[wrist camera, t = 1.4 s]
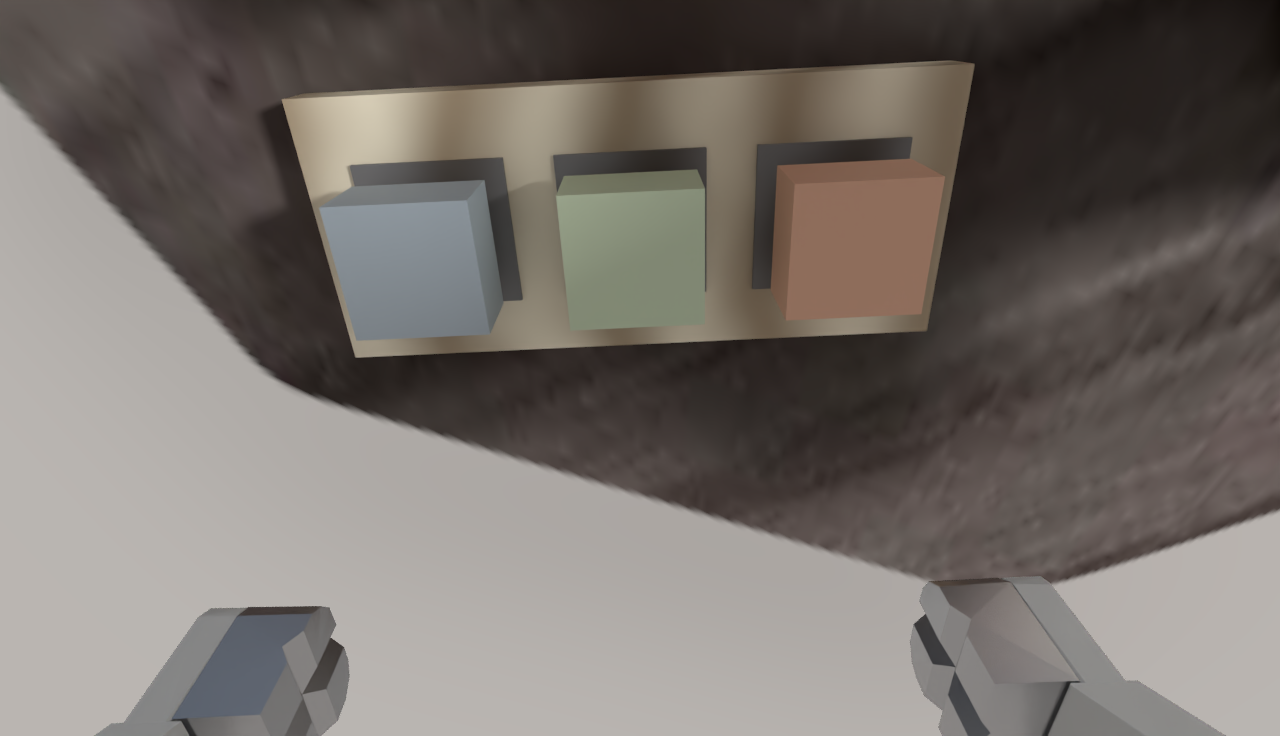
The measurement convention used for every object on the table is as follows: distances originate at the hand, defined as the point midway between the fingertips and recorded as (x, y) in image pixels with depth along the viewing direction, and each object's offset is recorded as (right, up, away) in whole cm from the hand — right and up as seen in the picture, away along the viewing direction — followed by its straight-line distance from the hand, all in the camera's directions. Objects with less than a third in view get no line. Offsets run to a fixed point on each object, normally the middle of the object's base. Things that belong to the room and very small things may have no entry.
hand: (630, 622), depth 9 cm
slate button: (-8, +8, +17) cm, 20 cm away
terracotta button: (+8, +9, +17) cm, 21 cm away
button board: (0, +10, +20) cm, 22 cm away
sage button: (0, +9, +17) cm, 19 cm away
